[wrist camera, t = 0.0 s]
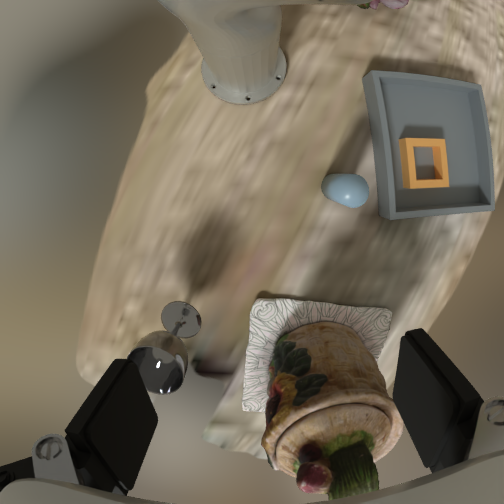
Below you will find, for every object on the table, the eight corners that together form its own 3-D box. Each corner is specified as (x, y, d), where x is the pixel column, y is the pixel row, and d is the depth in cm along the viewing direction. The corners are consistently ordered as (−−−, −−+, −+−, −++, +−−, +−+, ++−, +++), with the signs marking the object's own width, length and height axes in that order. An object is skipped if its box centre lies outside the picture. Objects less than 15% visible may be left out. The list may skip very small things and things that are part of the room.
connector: (319, 174, 43) (335, 175, 33) (345, 172, 43) (367, 172, 33) (322, 201, 44) (338, 209, 34) (347, 199, 44) (370, 206, 34)
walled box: (361, 78, 39) (371, 70, 34) (467, 89, 37) (480, 84, 33) (379, 215, 44) (390, 220, 40) (479, 207, 43) (494, 210, 38)
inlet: (398, 139, 40) (405, 137, 38) (437, 140, 39) (444, 139, 37) (403, 187, 42) (410, 188, 39) (441, 185, 41) (449, 186, 39)
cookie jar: (393, 304, 48) (497, 430, 17) (358, 408, 54) (398, 535, 23) (251, 293, 48) (236, 462, 17) (240, 405, 54) (225, 549, 23)
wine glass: (209, 309, 49) (190, 361, 34) (196, 346, 51) (176, 402, 36) (164, 292, 48) (130, 337, 34) (154, 330, 50) (123, 380, 36)
